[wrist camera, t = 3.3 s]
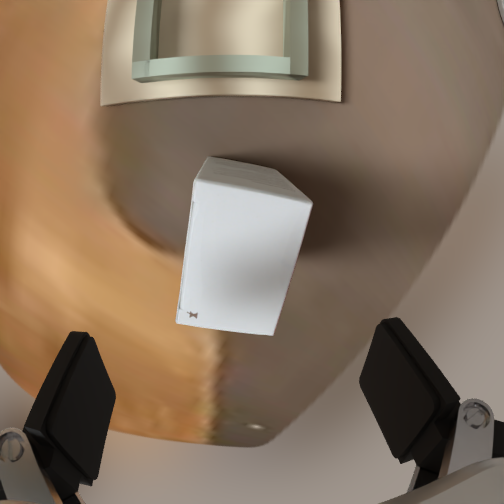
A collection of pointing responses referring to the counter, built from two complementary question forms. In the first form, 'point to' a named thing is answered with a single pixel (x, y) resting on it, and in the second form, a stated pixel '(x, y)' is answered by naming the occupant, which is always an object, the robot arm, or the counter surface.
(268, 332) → the small box
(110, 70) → the jig
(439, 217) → the counter surface
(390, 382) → the robot arm
